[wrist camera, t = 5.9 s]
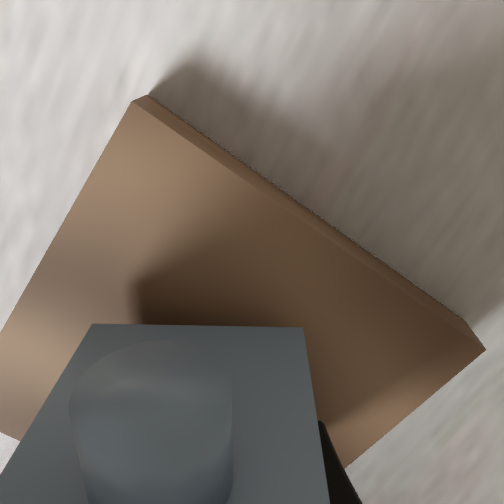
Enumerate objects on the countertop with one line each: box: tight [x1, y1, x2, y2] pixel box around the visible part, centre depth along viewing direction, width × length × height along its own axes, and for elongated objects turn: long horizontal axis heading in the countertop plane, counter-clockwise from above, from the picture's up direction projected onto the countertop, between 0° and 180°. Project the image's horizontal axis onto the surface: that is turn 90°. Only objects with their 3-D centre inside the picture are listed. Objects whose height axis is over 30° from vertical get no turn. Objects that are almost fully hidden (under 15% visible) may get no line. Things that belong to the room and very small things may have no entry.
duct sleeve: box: [0, 324, 330, 504], centre depth 10 cm, size 8×6×6 cm
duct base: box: [0, 95, 486, 469], centre depth 13 cm, size 12×12×5 cm
